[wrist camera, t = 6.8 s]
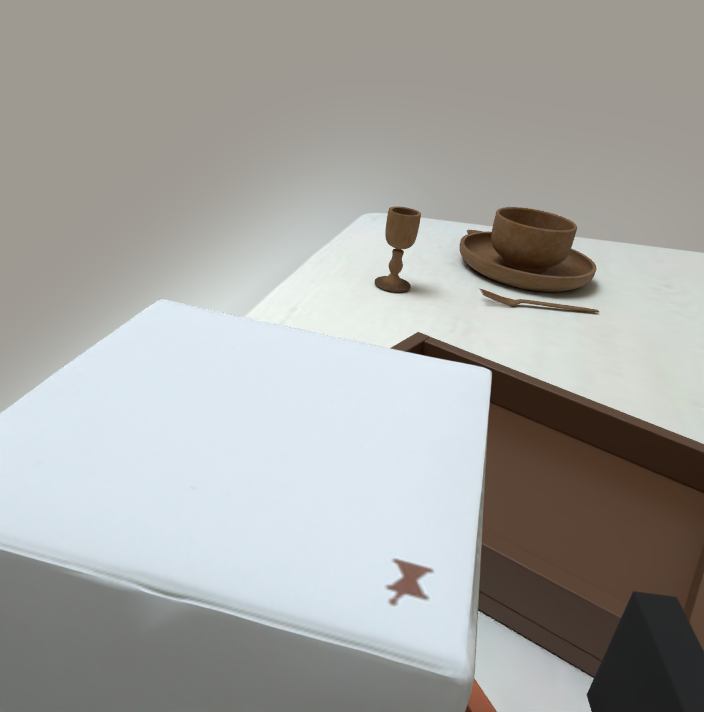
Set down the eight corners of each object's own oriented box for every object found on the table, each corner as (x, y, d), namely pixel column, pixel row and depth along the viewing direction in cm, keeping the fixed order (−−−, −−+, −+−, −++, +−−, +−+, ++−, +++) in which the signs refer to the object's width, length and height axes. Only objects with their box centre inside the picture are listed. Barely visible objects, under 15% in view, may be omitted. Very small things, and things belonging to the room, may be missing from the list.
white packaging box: (404, 760, 19) (510, 364, 13) (334, 1147, 12) (488, 695, 6) (162, 681, 20) (160, 286, 14) (-20, 996, 13) (-161, 498, 8)
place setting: (627, 319, 52) (653, 247, 49) (376, 293, 50) (388, 216, 47) (555, 248, 68) (571, 190, 65) (361, 226, 65) (369, 165, 63)
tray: (253, 477, 29) (258, 424, 27) (409, 374, 39) (418, 331, 38) (675, 725, 21) (709, 665, 19) (731, 511, 31) (755, 463, 30)
